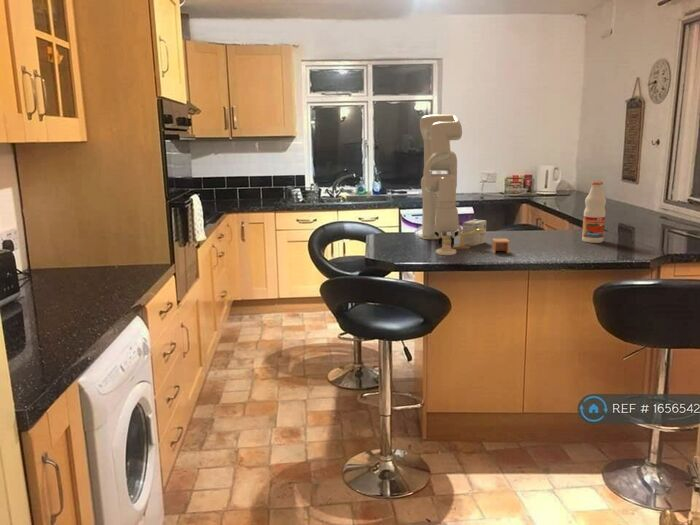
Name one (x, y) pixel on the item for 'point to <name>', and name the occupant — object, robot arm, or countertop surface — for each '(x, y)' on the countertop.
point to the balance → (461, 238)
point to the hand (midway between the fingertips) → (446, 246)
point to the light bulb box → (474, 237)
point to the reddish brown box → (500, 245)
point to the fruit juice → (594, 214)
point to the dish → (445, 251)
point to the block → (446, 243)
